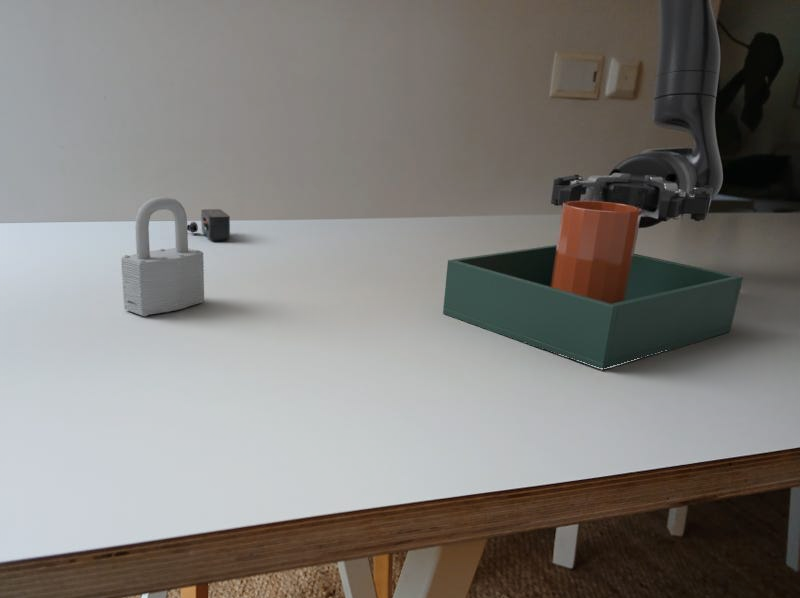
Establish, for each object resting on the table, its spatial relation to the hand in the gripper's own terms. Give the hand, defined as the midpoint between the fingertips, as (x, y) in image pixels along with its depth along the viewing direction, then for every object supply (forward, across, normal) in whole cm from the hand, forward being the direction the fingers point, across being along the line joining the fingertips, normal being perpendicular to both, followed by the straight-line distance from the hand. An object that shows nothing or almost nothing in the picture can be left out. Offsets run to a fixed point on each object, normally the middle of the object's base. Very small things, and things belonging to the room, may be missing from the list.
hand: (613, 204), depth 67 cm
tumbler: (+4, 0, +10) cm, 10 cm away
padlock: (+24, -33, +10) cm, 42 cm away
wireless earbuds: (-4, -52, +10) cm, 53 cm away
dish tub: (+4, 0, +10) cm, 11 cm away
